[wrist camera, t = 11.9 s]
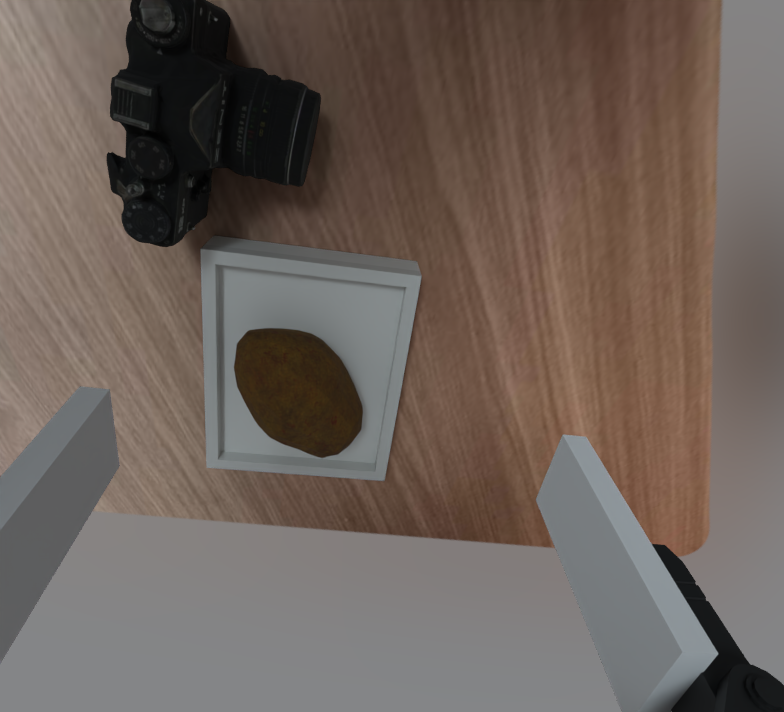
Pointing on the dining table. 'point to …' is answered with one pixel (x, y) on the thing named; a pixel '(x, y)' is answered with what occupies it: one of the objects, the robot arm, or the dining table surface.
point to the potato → (298, 390)
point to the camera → (197, 119)
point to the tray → (313, 315)
